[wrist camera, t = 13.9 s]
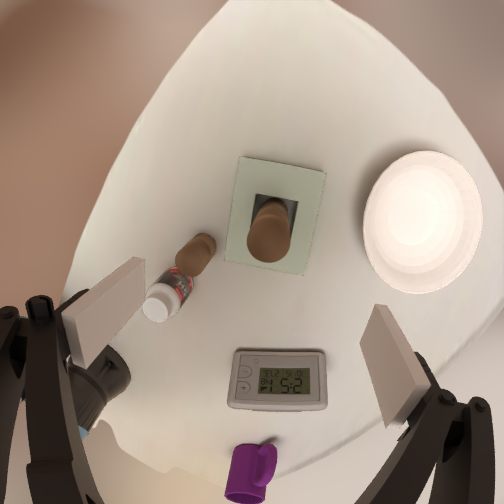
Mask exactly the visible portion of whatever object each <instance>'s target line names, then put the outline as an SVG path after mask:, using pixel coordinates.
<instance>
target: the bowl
mask: <svg viewBox="0 0 504 504" xmlns="http://www.w3.org/2000/svg"><path fill="white" fill-rule="evenodd" d="M481 229H482V205H481V199H480V195H479V192H478V190H477V187H476V184H475V183H474V181H473V179H472V177H471V176H470V174H469V173H468V172H467V171H466V169H465V168H464V167H463V166H462V165H461V164H460V163H459V162H457V161H456V160H455V159H453V158H452V157H450V156H448V155H445V154H443V153H441V152H436V151H430V150H426V151H416V152H413V153H410V154H407V155H404V156H402V157H401V158H399V159H398V160H396V161H394V162H393V163H392V164H391V165H390V166H389V167H388V168H387V169H386V170H385V171H384V172H382V174H381V175H380V177H379V178H378V180H377V181H376V183H375V184H374V186H373V188H372V190H371V193H370V195H369V197H368V199H367V203H366V207H365V211H364V217H363V239H364V246H365V250H366V253H367V257H368V259H369V261H370V263H371V265H372V267H373V269H374V270H375V272H376V273H377V274H378V275H379V277H380V278H381V279H382V280H383V281H385V282H386V283H387V284H388V285H390V286H391V287H393V288H395V289H397V290H400V291H402V292H407V293H412V294H422V293H428V292H432V291H436V290H438V289H440V288H442V287H444V286H446V285H448V284H449V283H450V282H452V281H453V280H454V279H456V278H457V277H458V276H459V275H460V274H461V273H462V272H463V271H464V269H465V268H466V266H467V265H468V264H469V262H470V261H471V259H472V257H473V255H474V253H475V251H476V249H477V246H478V243H479V239H480V236H481Z"/></svg>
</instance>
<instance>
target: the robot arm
mask: <svg viewBox="0 0 504 504" xmlns="http://www.w3.org/2000/svg"><path fill="white" fill-rule="evenodd" d="M144 302H145V259H141V258H136V257H133V258H131V259H130V260H129V261H127V262H126V263H124V264H123V265H122V266H120V267H119V268H118V269H116V270H115V271H114V272H112V273H111V274H110V275H108V276H107V277H106V278H104V279H103V280H102V281H100V282H99V283H98V284H97V285H95V286H94V287H93V288H91V289H85V290H82V291H79V292H78V293H76V294H75V295H74V296H72V298H70V299H68V300H67V302H65V303H63V304H62V305H61V306H60V307H58V308H57V309H56V310H54V306H53V301H52V299H51V298H50V297H48V296H45V295H38V296H34V297H32V298H30V299H29V300H27V302H26V304H25V305H26V310H27V314H28V318H29V319H28V318H27V317H24V316H20V315H19V311H18V309H17V308H16V307H13V306H5V307H2V308H1V309H0V504H4V499H5V494H6V485H7V484H6V483H7V473H8V463H9V455H10V448H11V441H12V436H13V430H14V425H15V420H16V416H17V410H18V407H19V404H21V402H22V401H23V400H24V401H25V402H26V418H27V430H28V440H29V447H30V455H31V463H29V464H27V467H26V472H27V479H28V484H29V488H30V493H31V497H32V501H33V504H104V502H103V500H102V498H101V497H100V495H99V493H98V490H97V488H96V485H95V482H94V479H93V477H92V473H91V471H90V467H89V464H88V461H87V457H86V454H85V451H84V447H83V443H82V441H83V439H84V438H85V437H86V436H87V435H88V434H89V433H88V432H89V431H90V429H91V428H92V426H93V424H94V423H95V421H96V420H97V418H98V416H99V415H100V413H101V412H102V410H103V409H104V407H105V405H106V404H107V402H109V401H110V400H112V399H113V398H115V397H116V396H118V395H119V394H120V393H122V392H123V391H124V390H125V389H126V388H127V386H128V385H129V383H130V372H129V370H128V367H127V365H126V364H125V362H124V361H123V359H122V358H121V357H120V356H119V355H118V354H117V353H116V352H115V351H114V350H113V349H112V348H111V347H109V346H108V345H107V344H108V343H109V342H110V341H111V339H112V338H113V337H114V336H115V335H116V334H117V333H118V331H119V330H120V329H121V328H122V327H123V326H124V324H125V323H126V322H127V321H128V320H129V319H130V318H131V317H132V315H133V314H134V313H135V312H136V311H137V310H138V309H139V308H140V306H141V305H142V304H143V303H144ZM360 346H361V349H362V352H363V355H364V358H365V361H366V364H367V367H368V370H369V374H370V377H371V380H372V383H373V386H374V390H375V393H376V396H377V400H378V403H379V406H380V410H381V413H382V417H383V421H384V424H385V428H386V429H393V428H401V426H402V425H403V424H404V423H405V421H406V420H407V421H408V424H409V427H408V428H407V429H406V430H405V431H404V433H403V434H402V435H401V436H400V438H399V439H398V440H397V441H399V442H398V443H397V445H396V447H395V449H394V450H393V452H392V453H391V455H390V456H389V458H388V459H387V461H386V462H385V464H384V465H383V467H382V468H381V470H380V471H379V472H378V474H377V475H376V477H375V478H374V479H373V480H372V482H371V483H370V485H369V486H368V487H367V488H366V490H365V491H364V492H363V494H362V495H361V496H360V497H359V499H358V500H357V501H356V502H355V503H354V504H416V502H417V500H418V498H419V496H420V494H421V493H422V491H423V489H424V487H425V485H426V483H427V481H428V479H429V477H430V475H431V473H432V470H433V468H434V466H435V464H436V469H435V475H434V480H433V485H432V490H431V495H430V499H429V504H494V494H495V451H494V450H495V449H494V435H493V425H492V416H491V409H490V406H489V404H488V403H487V401H486V400H485V399H483V398H481V397H472V399H471V400H470V401H469V402H468V404H464V403H459V402H457V400H456V397H455V396H454V395H453V394H452V393H451V392H450V391H448V390H445V389H441V388H440V387H439V385H438V383H437V381H436V379H435V377H434V375H433V373H432V372H431V370H430V368H429V366H428V364H427V363H426V361H425V359H424V358H423V357H422V356H421V355H420V354H419V353H418V352H414V351H413V350H412V348H411V346H410V344H409V342H408V341H407V339H406V337H405V335H404V334H403V332H402V330H401V329H400V327H399V325H398V323H397V322H396V320H395V318H394V317H393V315H392V313H391V312H390V310H389V308H388V307H387V306H386V305H380V304H375V306H374V308H373V311H372V314H371V316H370V319H369V321H368V324H367V326H366V329H365V331H364V334H363V336H362V338H361V341H360ZM70 354H71V355H70ZM69 355H70V358H69V360H68V363H67V361H66V358H67V357H68V356H69ZM436 461H437V462H436Z"/></svg>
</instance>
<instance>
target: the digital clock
mask: <svg viewBox="0 0 504 504" xmlns="http://www.w3.org/2000/svg"><path fill="white" fill-rule="evenodd" d="M227 405H228V406H229V407H231V408H234V409H245V410H252V411H267V412H301V411H319V410H324V409H325V408H326V407H327V405H328V394H327V374H326V359H325V355H324V354H323V353H320V352H263V351H239V352H236V353H235V354H234V357H233V364H232V370H231V377H230V384H229V390H228V397H227Z"/></svg>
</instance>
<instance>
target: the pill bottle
mask: <svg viewBox="0 0 504 504" xmlns="http://www.w3.org/2000/svg"><path fill="white" fill-rule="evenodd" d="M192 289H193V281H192V278H191V277H189V276H186V275H184V274H182V273H181V272H180V271H179V270H178V268H177V267H173V268H170V269H168V270H167V271H165V272H164V273H163V274H162V275H161V276H160V277H159V278H158V279H157V280H156V281H155V282H154V283H153V284H152V285H151V286H150V287H149V289H148V290H147V292H146V299H145V302H144V303H143V304H142V310H143V313H144V314H145V316H146V317H147V318H148V319H149V320H151V321H153V322H156V323H161V322H164V321H165V320H166V319H167V318H168V317H172V316H174V315H175V314H176V313H177V312H178V311H179V309H180V308H181V306H182V305H183V303H184V302H185V300H186V299H187V297H188V296H189V294H190V293H191V291H192Z"/></svg>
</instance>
